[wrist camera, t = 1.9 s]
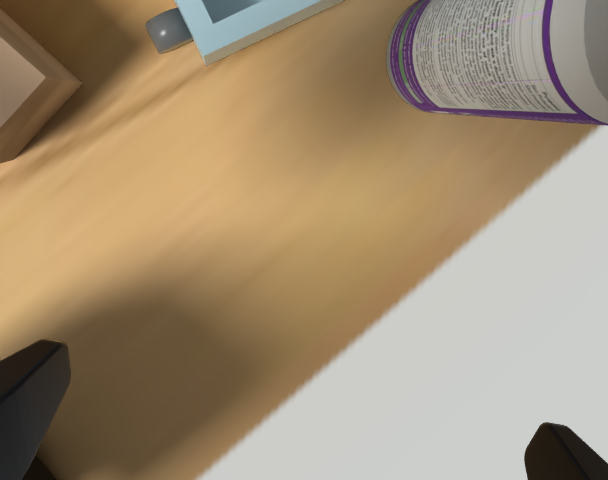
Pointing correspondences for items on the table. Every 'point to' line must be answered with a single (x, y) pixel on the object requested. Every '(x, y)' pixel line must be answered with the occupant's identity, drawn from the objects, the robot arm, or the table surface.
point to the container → (503, 59)
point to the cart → (227, 23)
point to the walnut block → (27, 87)
